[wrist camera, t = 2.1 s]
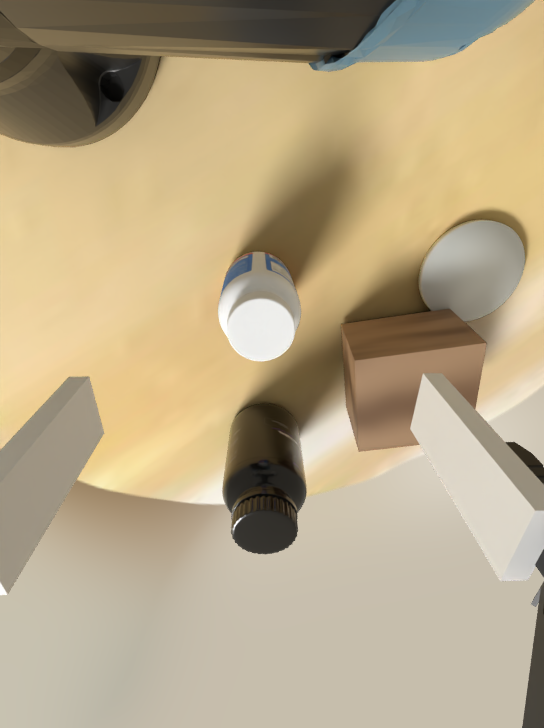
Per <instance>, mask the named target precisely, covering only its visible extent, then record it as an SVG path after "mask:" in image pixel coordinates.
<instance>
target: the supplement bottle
mask: <svg viewBox="0 0 544 728" xmlns="http://www.w3.org/2000/svg"><path fill="white" fill-rule="evenodd" d="M222 493H223V499H224V502H225V504H226V506H227V508H228V509H229V511H230V512H231V513H232V530H231V534H232V537H233V539H234V540H235V543H237V544H238V546H240V547H241V548H242V549H245V550H246V551H248V552H252V553H258V554H272V553H275V552H279V551H282V550H284V549H285V548H288V547H289V545H291V544H292V542H293V541H295V538H296V536H297V532H298V527H297V513H298V511H299V510H300V509H301V507H302V505H303V503H304V501H305V498H306V480H305V473H304V465H303V458H302V451H301V443H300V436H299V430H298V426H297V423H296V421H295V419H294V417H293V416H292V415H291V414H290V413H289V412H288V411H287V410H285V409H283V408H282V407H279V406H277V405H273V404H256V405H253V406H250V407H248V408H246V409H244V410H243V411H241V412H240V413H239V414H238V415H237V416H236V417H235V419H234V420H233V423H232V425H231V429H230V435H229V443H228V450H227V457H226V465H225V472H224V480H223V490H222Z"/></svg>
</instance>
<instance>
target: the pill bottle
mask: <svg viewBox="0 0 544 728" xmlns="http://www.w3.org/2000/svg"><path fill="white" fill-rule="evenodd" d="M218 316H219V321H220V325H221V327H222V329H223V331H224V333H225V334H226V336H227V337H228V339H229V342H230V344H231V345H232V347H233V348H234V349H235V350H236V351H237V352H238V353H239V354H240V355H241V356H243V357H245V358H247V359H250V360H254V361H268V360H272V359H275V358H277V357H279V356H280V355H282V354H283V353H284V352H286V351H287V349H288V348H289V347H290V345H291V344H292V342H293V339H294V336H295V331H296V330H297V328H298V325H299V322H300V318H301V305H300V301H299V297H298V294H297V291H296V289H295V286H294V283H293V281H292V278H291V275H290V272H289V270H288V269H287V267H286V266H285V264H284V263H283V262H282V261H281V260H280V259H278V258H277V257H275V256H274V255H272V254H269V253H266V252H250V253H247V254H244V255H242V256H240V257H239V258H238V259H236V260H235V261H234V262H233V263H232V265H231V266H230V268H229V269H228V271H227V274H226V277H225V280H224V284H223V288H222V292H221V296H220V300H219V307H218Z"/></svg>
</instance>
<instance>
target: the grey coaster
mask: <svg viewBox="0 0 544 728" xmlns="http://www.w3.org/2000/svg"><path fill="white" fill-rule="evenodd" d="M524 265H525V252H524V247H523V243H522V241H521V239H520V237H519V236H518V235H517V233H516V232H515V231H514V230H513V229H512V228H510V227H508V226H507V225H505V224H502V223H499V222H495V221H491V220H472V221H467V222H464V223H461V224H459V225H457V226H455V227H453V228H451V229H450V230H448V231H447V232H446V233H444V234H443V235H442V236H441V237H440V238H439V239H437V240H436V242H435V243H434V244H433V245H432V246H431V248H430V249H429V251H428V252H427V254H426V256H425V258H424V260H423V262H422V265H421V268H420V272H419V291H420V295H421V297H422V299H423V301H424V303H425V304H426V306H427V307H428V308H429V309H430V310H431V311H436V310H443V309H451V310H452V311H453V312H454V313H455V314H456V315H457V316H458V317H460V318H461V319H462V320H463V321H464V322H465V321H471V320H475V319H479V318H481V317H483V316H486V315H488V314H489V313H491V312H493V311H494V310H496V309H497V308H498V307H500V306H501V305H502V304H503V303H504V302H505V301H506V300H507V299H508V298H509V297H510V296H511V294H512V293H513V292H514V290H515V289H516V287H517V285H518V283H519V281H520V279H521V276H522V274H523V270H524Z"/></svg>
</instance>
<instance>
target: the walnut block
mask: <svg viewBox="0 0 544 728" xmlns="http://www.w3.org/2000/svg"><path fill="white" fill-rule="evenodd" d="M341 333H342V349H343V364H344V380H345V395H346V408H347V411H348V415H349V418H350V422H351V425H352V429H353V433H354V436H355V440H356V443H357V447H358V450H359V452H360V451H369V450H378V449H387V448H395V447H404V446H413V445H419V443H418V441H417V439H416V438H415V436H414V434H413V433H412V431H411V429H410V427H411V423H412V419H413V414H414V410H415V406H416V401H417V397H418V393H419V388H420V384H421V380H422V375H423V373H442V374H443V375H444V376H445V377H446V378H447V379H448V380H449V382H450V383H451V384H452V385H453V386H454V387H455V388H456V389H457V390H458V391H459V393H460V394H461V395H462V396H463V397H464V398H465V399H466V400H467V401H468V402H469V403H470V405H471V406H472V407H473V408H474V409H475V407H476V402H477V396H478V390H479V384H480V379H481V373H482V367H483V361H484V356H485V350H486V344H487V343H486V342H485V341H484V340H483V339H482V338H481V337H480V336H479V335H478V334H477V333H476V332H474V331H473V330H472V329H471V328H470V327H469V326H468V325H467V324H466V323H465V322H464V321H463V320H462V319H461V318H460V317H458V316H457V315H456V314H455V313H454V312H453V311H452V310H451V309H443V310H436V311H429V312H422V313H415V314H408V315H401V316H394V317H387V318H380V319H373V320H366V321H359V322H352V323H345V324H341Z"/></svg>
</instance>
